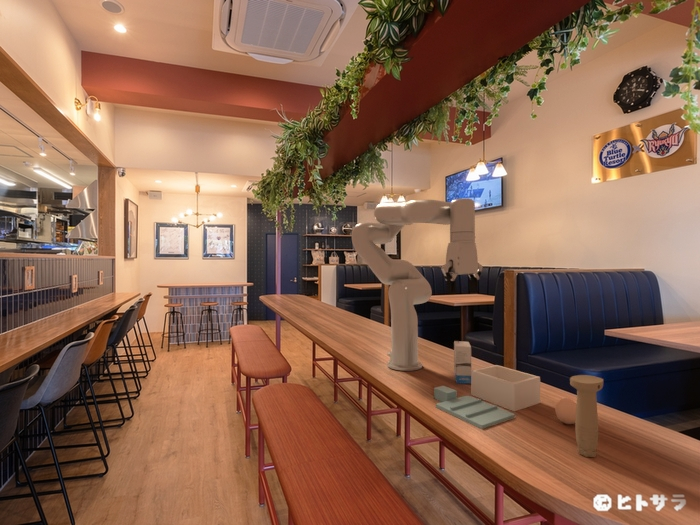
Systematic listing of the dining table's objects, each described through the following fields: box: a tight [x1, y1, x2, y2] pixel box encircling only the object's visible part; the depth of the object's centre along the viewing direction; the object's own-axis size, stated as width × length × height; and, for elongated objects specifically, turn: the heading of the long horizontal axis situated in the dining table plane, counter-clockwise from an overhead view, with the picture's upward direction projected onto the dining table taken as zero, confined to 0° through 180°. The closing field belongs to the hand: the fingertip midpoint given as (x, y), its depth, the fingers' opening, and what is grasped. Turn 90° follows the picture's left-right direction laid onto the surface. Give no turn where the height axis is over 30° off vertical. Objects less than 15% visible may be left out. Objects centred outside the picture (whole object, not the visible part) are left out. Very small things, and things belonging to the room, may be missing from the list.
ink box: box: [453, 340, 472, 385], centre depth 123 cm, size 9×5×12 cm, turn 168°
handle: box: [569, 374, 604, 458], centre depth 76 cm, size 5×6×15 cm
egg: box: [555, 397, 577, 425], centre depth 90 cm, size 5×5×6 cm
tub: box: [470, 364, 541, 412], centre depth 106 cm, size 14×11×7 cm
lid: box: [433, 385, 516, 430], centre depth 99 cm, size 20×12×3 cm, turn 31°
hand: (462, 292), depth 120 cm, fingers open, 9 cm apart
